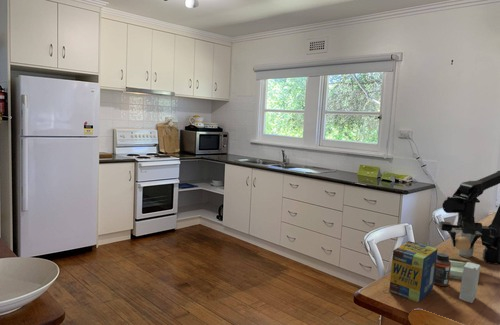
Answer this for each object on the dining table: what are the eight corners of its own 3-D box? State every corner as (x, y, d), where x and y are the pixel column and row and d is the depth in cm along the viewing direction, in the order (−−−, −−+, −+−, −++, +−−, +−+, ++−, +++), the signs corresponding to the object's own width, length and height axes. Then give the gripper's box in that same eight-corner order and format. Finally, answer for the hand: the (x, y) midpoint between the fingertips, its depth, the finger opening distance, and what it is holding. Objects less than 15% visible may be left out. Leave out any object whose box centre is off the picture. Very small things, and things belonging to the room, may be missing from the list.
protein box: (388, 292, 134) (392, 250, 132) (404, 279, 146) (408, 240, 144) (418, 303, 127) (423, 258, 125) (433, 288, 139) (438, 248, 137)
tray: (469, 270, 158) (470, 263, 157) (478, 282, 146) (479, 274, 146) (438, 265, 161) (438, 259, 161) (444, 277, 149) (445, 269, 149)
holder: (470, 261, 168) (470, 260, 167) (476, 270, 158) (477, 268, 158) (445, 258, 170) (445, 257, 170) (450, 266, 161) (450, 265, 161)
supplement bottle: (450, 287, 140) (454, 258, 139) (433, 285, 141) (436, 256, 140) (445, 281, 146) (449, 252, 144) (429, 279, 147) (432, 250, 146)
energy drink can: (469, 258, 171) (473, 226, 169) (455, 254, 175) (459, 223, 174) (474, 256, 175) (478, 224, 173) (460, 252, 179) (464, 221, 178)
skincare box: (462, 293, 136) (466, 261, 134) (476, 297, 133) (480, 264, 132) (458, 299, 131) (462, 265, 130) (473, 304, 128) (477, 269, 127)
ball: (467, 249, 165) (469, 236, 165) (471, 254, 160) (473, 240, 159) (452, 247, 167) (454, 234, 166) (455, 252, 161) (457, 238, 160)
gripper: (446, 214, 156) (442, 251, 158) (498, 219, 151) (493, 257, 153) (440, 208, 166) (436, 242, 168) (488, 213, 162) (484, 248, 164)
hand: (462, 247), depth 163 cm, fingers closed on ball, 6 cm apart
